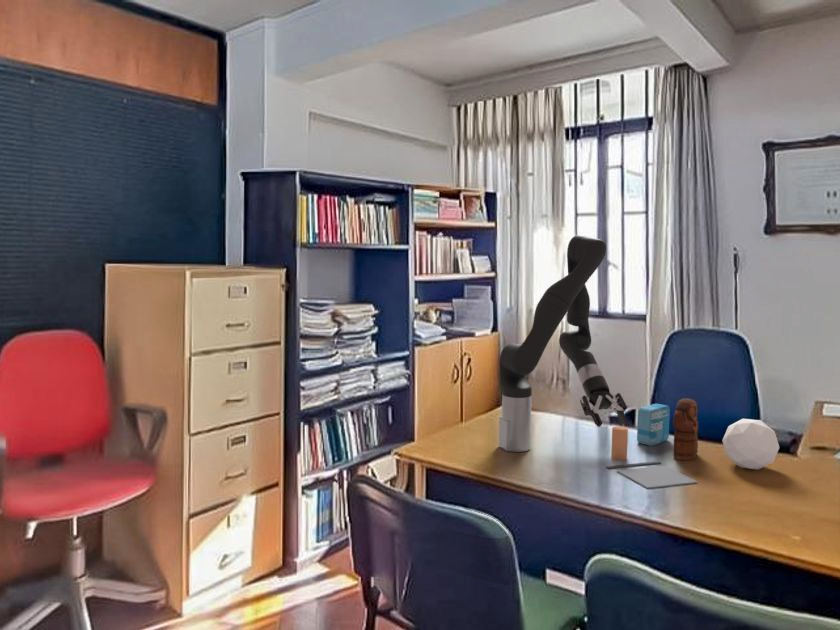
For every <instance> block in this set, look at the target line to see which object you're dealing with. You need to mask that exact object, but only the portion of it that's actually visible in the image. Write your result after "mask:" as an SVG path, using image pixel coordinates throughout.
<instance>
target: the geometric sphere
mask: <svg viewBox="0 0 840 630" xmlns="http://www.w3.org/2000/svg"><path fill="white" fill-rule="evenodd" d="M722 444H723V448H724V452H725V456H726V457H727V458H728V459H729V460H731V461H732V463H734V464H735V465H737V466H738V467H739V468H741V469H749V470H757V471H758V470H761V469H762V468H765V467H767V466H768V465H770V464H772V463H774V460H775V458H776V456H777V454H778V452H779V450H780V445H779V441H778V438H777V435H776V432H775V430H773V429H772V428H771V427H770V426H768V425H767V424H766V423H765V422H763V421H762V420H761V419H751V418H741V419H739V420H738V421H735V422H734V423H732V424H730V425H728V426H727V429H726V431H725V434H724V435H723V438H722Z"/></svg>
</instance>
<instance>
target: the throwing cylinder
mask: <svg viewBox="0 0 840 630" xmlns="http://www.w3.org/2000/svg"><path fill="white" fill-rule="evenodd" d="M628 434H629V428H627V427H625V426H612V428H611V449H610V451H611V452H610V458H611V459H612V460H614V461H626V460H628V443H629V441H628V440H629V438H628V437H629V436H628Z"/></svg>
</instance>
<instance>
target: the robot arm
mask: <svg viewBox="0 0 840 630" xmlns="http://www.w3.org/2000/svg"><path fill="white" fill-rule="evenodd" d="M566 250H567V251H566V257H567V258H566V262H567V263H566V264H567V275H565V276H564V277H562V278H561V279H559V280H557V281H556V282H555V283H553V284H552V285H550V286H549V287H548V288H547V289H546V290H545V292H544V293H543V295H542V296H541V298H540V300H539V301H538V302H537V304H536V307H535V310H534V315H533V322H532V327H531V329H530V331H529V333H528V334H527V337H526V338H525V339H524V340H523V342H522V343H521V344H518V343H508V344H506V345H505V346H504V347H503V348H502V350H501V352H500V356H499V383H500V387H501V390H502V392H501V395H502V397H501V398H502V399H501V416H499V417H498V420H499V421H498V446H499V447H500V448H501V449H502V450H503V451H505V452H519V453H521V452H527V451H529V450H530V449H531V443H532V441H531V438H532V437H531V435H532V434H531V429H532V393H533V392H532V391H533V389H532V386H531V385H530V383H529V382H528V380H527V377H526V376H527V375H530V374H531V373H532V372H533V371H535V368H536V367H537V365H538V364H539V362H540V360H541V357H542V356H543V354H544V351H545V349H546V347H547V345H548V343H550V340H551V338H552V337H553V335H554V334H555V332H556V330H557V328H558V327H559V326H560V325H561V324H560V323H561V322H562V321H563V319H564V318H565V316H566V321H567V323H568V324H569V325H571V326H572V327H578V328H577V330H566V331H564V332H562V333H561V334H560V336H559V339H558V343H559V347H560V348H561V351H562V352H563V353H564V354H565V355H566V357H567V358H568V359H569V361H570V363H572V364H573V367H574V368H575V370H576V373H577V374H578V379H579V381H580V384H581V387H582V388H583V390H584V393H585V395H583V396H582V397H581V398H580V400H579V402H580V405H581V409H582V410H583V413H584V415H585V416H587V417H588V416H590V417H591V418H592V421H593V423H594V425H595V426H596V427H597V428H600V427H601V426H602V425H603V421H602V419H601V417H600V415H599V412H598V410H599V411H601V410H609V411H610V412H614V413H615V414H617V415H616V416H617V419H618V421H619V423H620V425H621V426H623V425H624V426H625V424H626V423H627V420H628V419H627V417H626V415H625V411H626V410H627V409H628V405H627V404H626V402H625V400H624V398H623V396H622V394H621V393H619V392H617V393H616V394H612V393H611V390H610V387H609V385H608V382H607V380H606V378H605V376H604V374H603V372H602V370H601V368H600V366H599V365H598V363H597V360H596V357H595V356H594V355H593V353H592V352H590V351H589V350H588V349H590V347H591V345H592V336H591V331H590V329H591V328H590V324H589V319H590V318H589V317H590V308H591V299H590V294H589V291H588V289H587V285H586V283H588V281H589V279H590V278H591V277H592V276H593V274H594V273H595V272H596V270H597V269H598V268H599V267H600V265H601V263H602V262H603V260H604V259H605V256H606V252H607V245H606V243H605V242H604V241H603V240H602V239H600V238H595V237H591V236H586V235H582V234H576V235H574V236H573V237H572V238H571V239H570V240H569V242H568V246H567V249H566ZM587 350H588V351H587ZM589 403H590V404H591V405H592V408H591V406H590V404H589Z"/></svg>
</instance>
